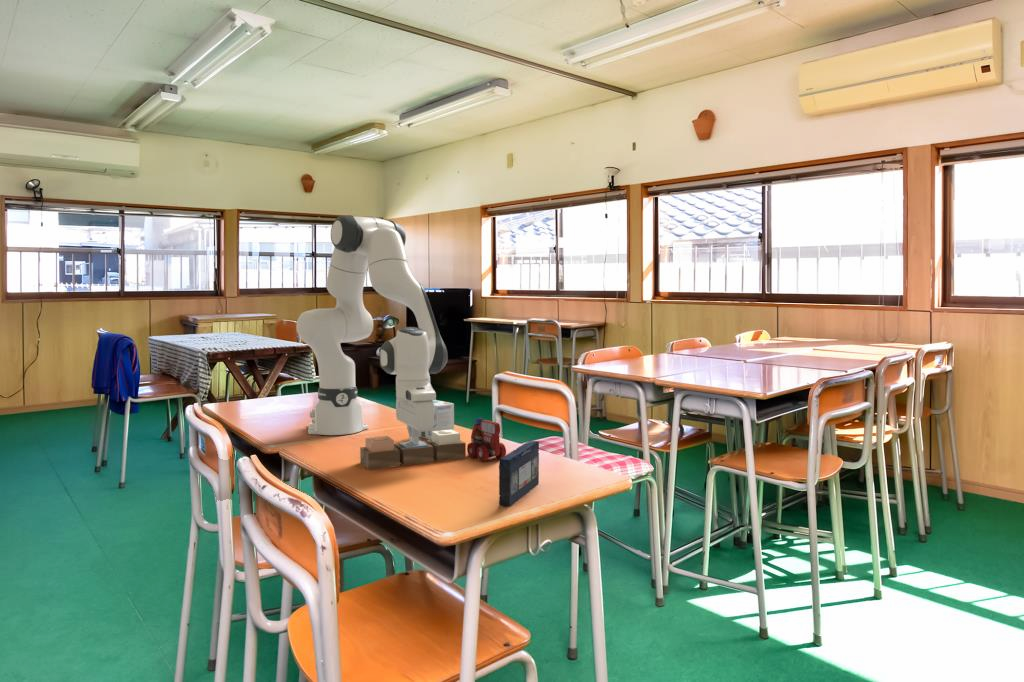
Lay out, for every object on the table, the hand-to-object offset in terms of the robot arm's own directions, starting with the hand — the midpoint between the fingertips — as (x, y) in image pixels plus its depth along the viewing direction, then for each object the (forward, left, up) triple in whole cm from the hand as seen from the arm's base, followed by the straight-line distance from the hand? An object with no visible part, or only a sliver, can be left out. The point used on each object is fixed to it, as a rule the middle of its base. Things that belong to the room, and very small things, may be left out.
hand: (414, 442), depth 178 cm
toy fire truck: (+6, +18, -5) cm, 19 cm away
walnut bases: (0, 0, -5) cm, 5 cm away
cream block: (0, +9, -2) cm, 9 cm away
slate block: (0, 0, -4) cm, 4 cm away
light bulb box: (-24, +15, -5) cm, 29 cm away
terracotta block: (0, -9, -2) cm, 9 cm away
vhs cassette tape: (+39, +11, -5) cm, 41 cm away
